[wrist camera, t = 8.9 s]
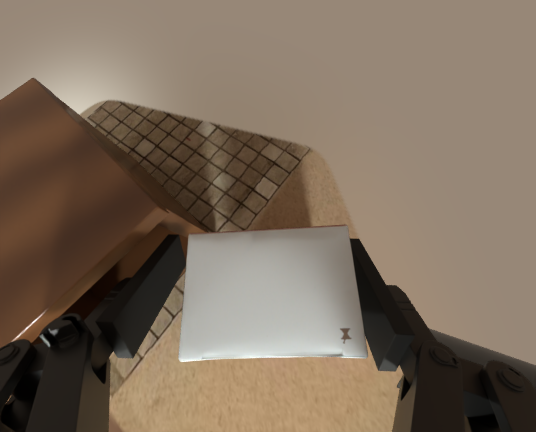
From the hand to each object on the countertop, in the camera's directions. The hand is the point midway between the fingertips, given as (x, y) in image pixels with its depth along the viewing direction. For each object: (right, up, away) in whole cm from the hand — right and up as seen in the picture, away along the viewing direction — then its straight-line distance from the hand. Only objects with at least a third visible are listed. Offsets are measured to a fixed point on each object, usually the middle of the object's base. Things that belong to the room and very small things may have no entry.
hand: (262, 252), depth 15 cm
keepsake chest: (-14, 0, +7) cm, 15 cm away
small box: (+1, -4, +5) cm, 6 cm away
